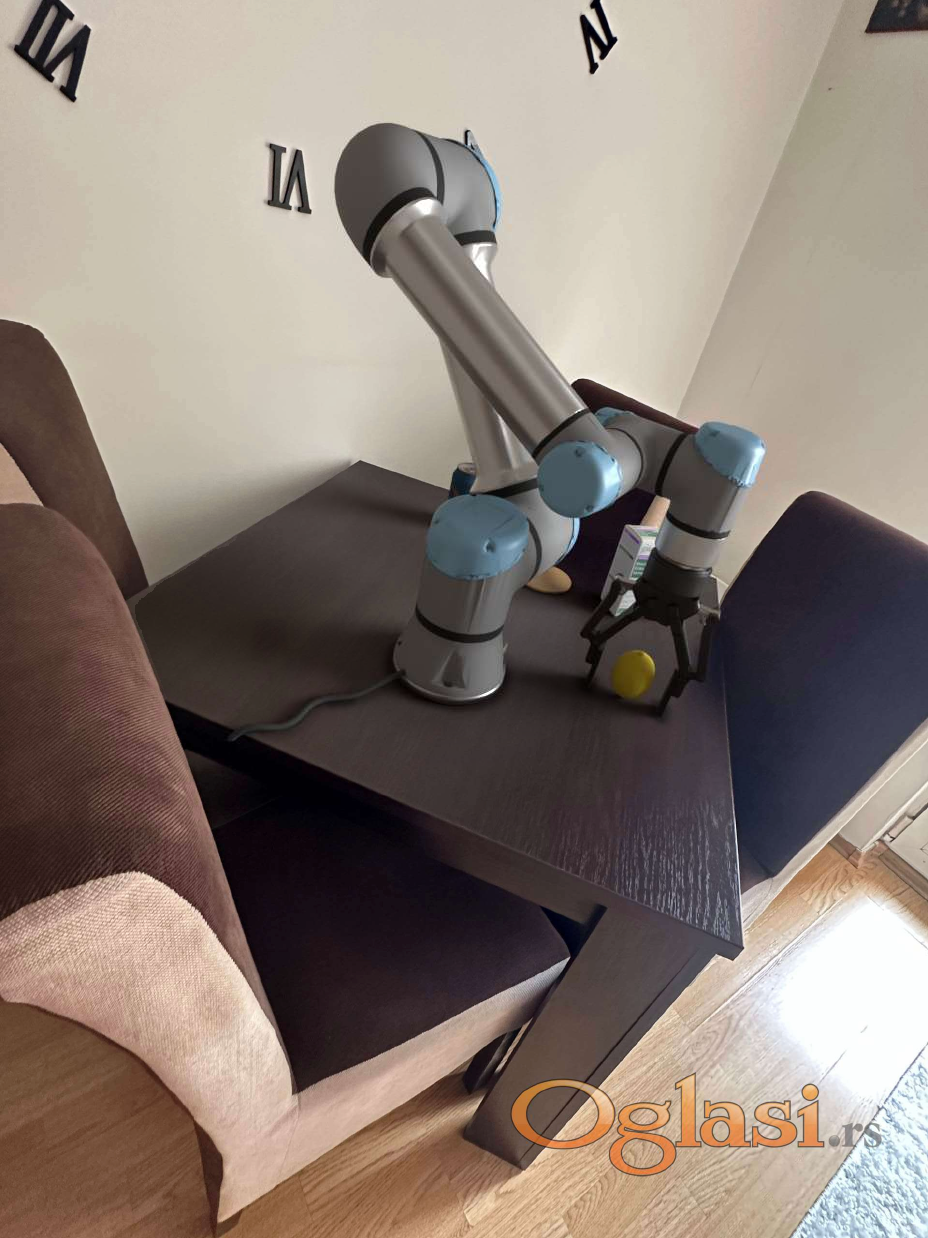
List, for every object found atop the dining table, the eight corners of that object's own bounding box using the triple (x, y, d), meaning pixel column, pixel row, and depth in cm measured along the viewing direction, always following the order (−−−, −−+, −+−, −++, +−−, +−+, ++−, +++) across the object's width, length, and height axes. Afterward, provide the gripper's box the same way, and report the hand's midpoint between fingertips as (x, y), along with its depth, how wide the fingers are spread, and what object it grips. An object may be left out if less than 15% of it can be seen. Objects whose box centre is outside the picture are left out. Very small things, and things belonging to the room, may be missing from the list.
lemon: (639, 688, 93) (659, 644, 89) (644, 714, 88) (665, 668, 84) (602, 680, 93) (619, 635, 88) (605, 706, 88) (624, 659, 84)
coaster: (545, 599, 109) (545, 597, 109) (503, 570, 114) (504, 568, 114) (581, 585, 115) (582, 583, 115) (541, 559, 121) (541, 557, 120)
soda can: (439, 517, 127) (449, 459, 120) (472, 519, 129) (484, 462, 123) (448, 534, 122) (460, 474, 115) (483, 535, 124) (496, 477, 118)
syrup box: (613, 617, 108) (643, 540, 100) (598, 597, 113) (625, 522, 105) (643, 617, 110) (674, 541, 102) (627, 597, 115) (655, 524, 107)
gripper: (776, 575, 79) (705, 712, 91) (601, 516, 84) (556, 653, 96) (777, 602, 73) (700, 744, 85) (588, 536, 78) (541, 679, 90)
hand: (623, 696), depth 90 cm, fingers open, 10 cm apart
